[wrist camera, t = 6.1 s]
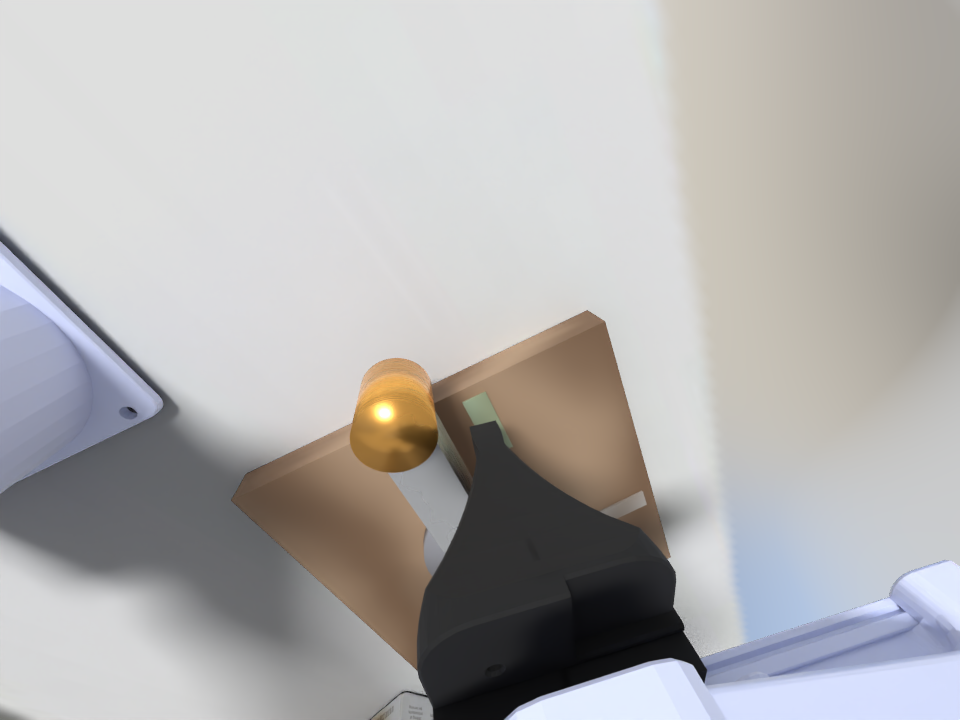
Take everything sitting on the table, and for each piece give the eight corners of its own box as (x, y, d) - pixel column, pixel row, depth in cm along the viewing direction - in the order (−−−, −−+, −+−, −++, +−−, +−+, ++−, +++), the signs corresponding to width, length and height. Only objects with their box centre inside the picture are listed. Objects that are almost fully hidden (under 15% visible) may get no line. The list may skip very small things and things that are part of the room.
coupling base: (420, 646, 23) (422, 686, 21) (246, 473, 15) (223, 512, 14) (654, 535, 22) (677, 566, 21) (587, 310, 15) (613, 326, 13)
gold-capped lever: (562, 559, 18) (612, 674, 14) (470, 601, 18) (490, 729, 14) (451, 320, 12) (478, 390, 8) (311, 383, 12) (258, 490, 8)
